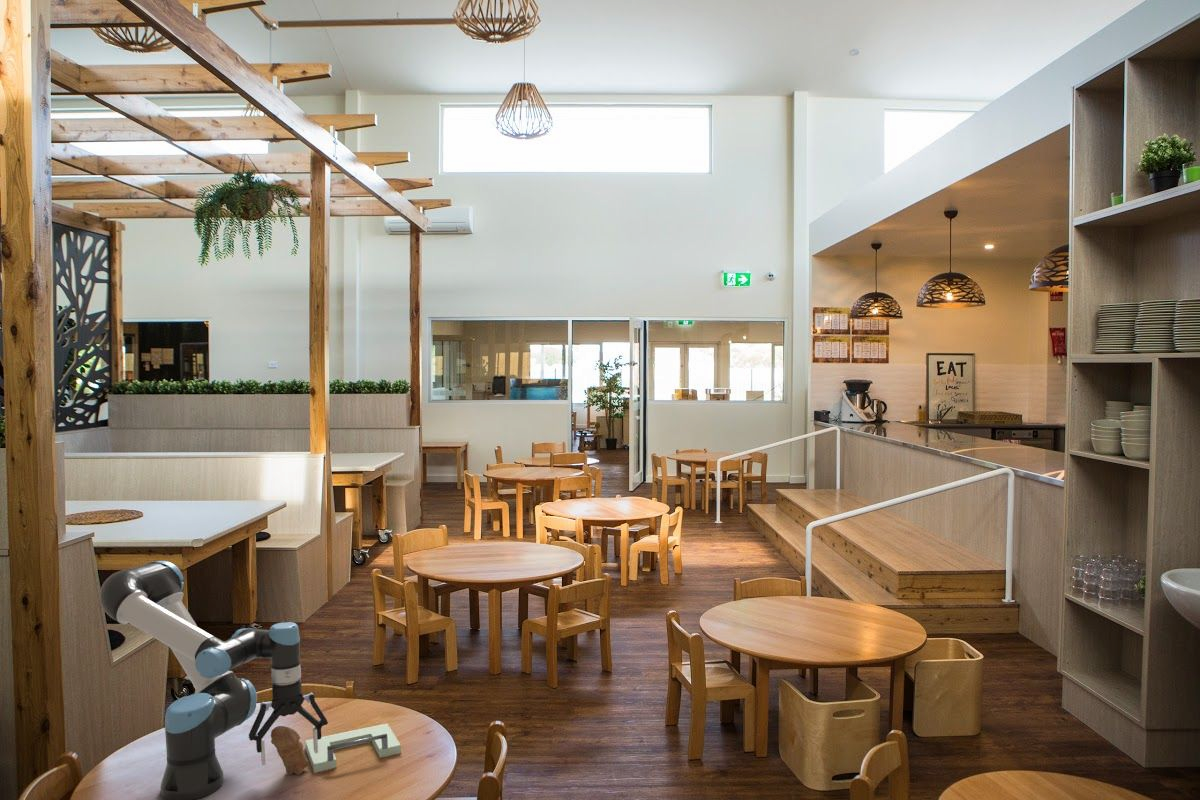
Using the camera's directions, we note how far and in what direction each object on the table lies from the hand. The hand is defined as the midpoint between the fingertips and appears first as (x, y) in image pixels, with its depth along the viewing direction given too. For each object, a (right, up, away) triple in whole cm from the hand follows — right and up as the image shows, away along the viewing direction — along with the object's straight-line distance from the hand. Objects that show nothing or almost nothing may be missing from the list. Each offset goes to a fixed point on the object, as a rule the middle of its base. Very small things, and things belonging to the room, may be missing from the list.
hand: (290, 757), depth 230 cm
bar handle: (+17, -2, +6) cm, 18 cm away
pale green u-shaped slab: (+13, -4, +14) cm, 19 cm away
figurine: (0, -5, 0) cm, 5 cm away
